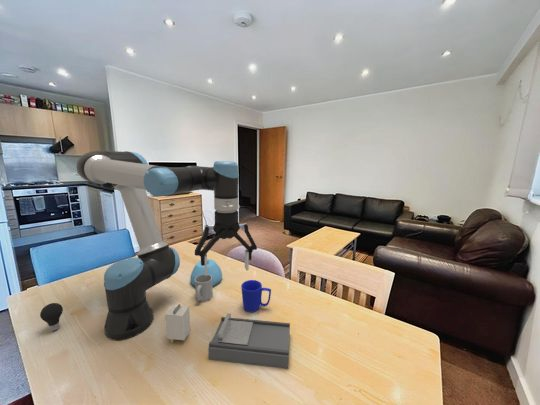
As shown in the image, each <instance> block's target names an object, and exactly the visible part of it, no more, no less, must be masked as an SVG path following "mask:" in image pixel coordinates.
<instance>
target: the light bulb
mask: <svg viewBox="0 0 540 405" xmlns="http://www.w3.org/2000/svg"><path fill="white" fill-rule="evenodd" d="M63 309H64V308H63V306H62V304H60V303H58V302H53V303H52V302H51V303H49V304H46V305H44V307H43V308H42V309H41V311H40V315H39V316H40V319H41V320H42V321H44V322H45V323H46V324H47V325H48V327H49V330H50V331H51V332H53V331H57V330H58V329H59V328H60V318H61V317H62V314H63V311H64V310H63Z"/></svg>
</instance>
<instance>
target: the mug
mask: <svg viewBox="0 0 540 405" xmlns="http://www.w3.org/2000/svg"><path fill="white" fill-rule="evenodd" d="M240 288H241V297H242V306H243V308H244V310H245V311H247V312H255V311H258V310H259V308H260V307H261V306H262V307H267V306H268V305H269V304H270V301H271V295H272V289H271V288H268V287H263V285H262V283H261V281H259V280H256V279H249V280H245V281H243V283H241V286H240ZM263 291H264V292H268V299H267V301H266V303H263V302H262V294H263Z"/></svg>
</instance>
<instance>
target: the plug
mask: <svg viewBox="0 0 540 405" xmlns="http://www.w3.org/2000/svg"><path fill="white" fill-rule="evenodd" d="M190 316H191V315H190V306H184V305H183V306H182V305H181V304H180V303H179V304H177V305H171V306H170V307H169V309H168V310H166V312H165V313H164V323H165V334H166V339H168V340H169V343H171V344H172V343H174V342H175V341H186V340H187V337H188V335H189V333H190V331H191V317H190Z"/></svg>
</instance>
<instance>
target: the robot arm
mask: <svg viewBox="0 0 540 405" xmlns="http://www.w3.org/2000/svg"><path fill="white" fill-rule="evenodd" d="M75 165H76V171H77V173H78V175H79V176H80V178H81V179H83V180H85V181H87V182H88V183H92V184H93V183H94V184H99V185H103V184H104V185H105V184H107V183H108V184H112V187H113V188H114V190H117V191H118V192H119V193H120V194H121V198H122V200H123V204H124V207H125V210H126V213H127V215H128V219H129V222H130V223H131V228H132V230H133V232H134V236H135V238H136V242H137V245H138V247H139V249H138V252H137V253H136V256H137V257H129V258H127V259H126V258H124V259H121V260H118V261H117V262H114V263H112V264H111V265H110V266H109V267H107V269H106V270H105V272H104V274H103V287H104V291H105V298H106V305H107V314H106V318H105V323H104V327H103V328H104V334H105V337H106V338H107V339H109V340H114V341H121V340H126V339H130V338H133V337H135V336H137V335H140V333H142V332H144V331H145V330H147V329H148V328H149V327H150V326H151V325H152V323H153V321H154V311H153V309H152V307H151V306H150V304H149V301H148V299H147V291H148V290H149V289H151V288H153V287H154V286H156V285H157V284H160V283H162V282H163V281H165V280H167V279H168V280H169V279H170V278H171V277H172V276H173V275H175V274H176V273H177V272H178V270H179V268H180V265H181V258H180V255H179V253H178V251H177V250H176V249H175V248H174V247H170V246H169V243H167V242H165V241H163V237H162V234H161V231H160V229H159V226H158V224H157V219H156V217H155V213H154V212H153V208H152V206H151V203H150V199H149V197H148V193H149V194H150V195H151V196H153V197H168V196H172V195H178V194H183V193H189V192H194V191H200V190H201V191H202V190H204V191H213V195H214V196H213V198H214V200H213V202H214V206H213V207H214V210H215V211H214V224H213V225H208V224H204V230H203V233H202V235H201V237H200V239H199V241H198V244H196V247H195V250H194V256H198V257H200V261H201V265H202V266H204V265H205V276H208V274H207V259H208V255H207V254H208V253H209V251H210V250H211V249H212V248H213V246H214V245H215V244H216V243H217V242H218V241H219V240H220V239H221V240H226V239H233V238H234V239H236V240H237V241H238V242H239V243H240V244H241V245H242V246H243V247H244V248H245V249H244V268H245V270H246V272H247V271H249V269H250V268H249V267H250V266H249V265H250V264H249V262H250V261H251V260H252V258H253V257H252V253H253V251H254V250H257V249H258V247H257V244H256V243H255V240H254V239H253V236H252V235H251V233H250V231H249V225H248V224H247V223H246V222H243V223H239V210H238V209H239V179H240V178H239V177H240V174H239V164H238V163H237V162H235V161H224V160H220V161H218V160H217V161H214V162H213V166H199V165H188V166H181V167H178V166H177V167H176V166H175V167H171V166H169V167H168V166H162V165H160V166H159V165H153V164H148V161H147V160H146V159H145V157H144V156H143V155H142V154H140V153H139V152H134V151H133V152H132V151H126V150H125V151H116V150H115V151H112V150H110V151H109V150H93V151H88V152H86V153H84V154H82V155H81V156H80V157H79V158H78V159H77V162H76V164H75ZM240 229H241V231H243V232H244V233H245V235H246V237H247V239H248V241H249V243H250V245H249V243H247V241H246V240H244V238H243V237H242V236H241V235H240V234H239V233H238V232H239V230H240ZM212 231H213V232H214V234H213V236H212V238H211V239H209V241H208V242H207V243H206V244H205V242H206V240H207V239H208V236H209V234H210V233H211V232H212ZM203 246H204V247H203Z"/></svg>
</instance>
